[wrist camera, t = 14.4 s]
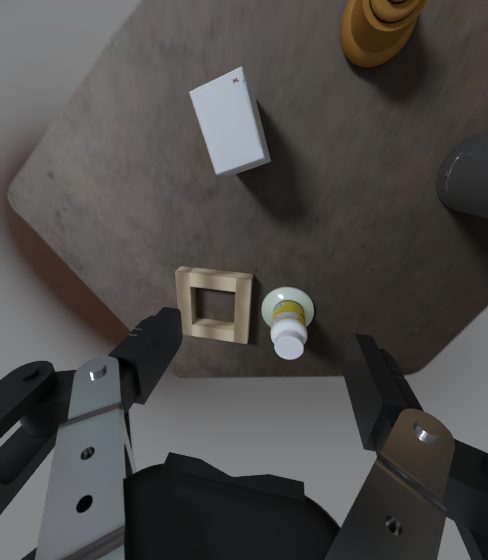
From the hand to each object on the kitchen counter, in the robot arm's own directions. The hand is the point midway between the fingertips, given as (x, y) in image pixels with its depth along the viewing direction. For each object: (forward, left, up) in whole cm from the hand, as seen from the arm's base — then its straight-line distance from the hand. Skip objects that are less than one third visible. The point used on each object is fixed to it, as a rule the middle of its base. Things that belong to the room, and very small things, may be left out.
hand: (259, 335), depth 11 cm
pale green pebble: (-3, +15, -28) cm, 32 cm away
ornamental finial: (-8, -22, -28) cm, 37 cm away
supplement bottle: (-3, +15, -28) cm, 31 cm away
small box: (+6, -11, -28) cm, 31 cm away
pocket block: (+10, +16, -28) cm, 34 cm away
